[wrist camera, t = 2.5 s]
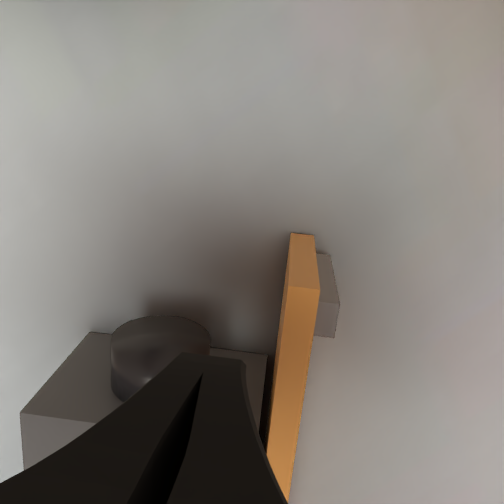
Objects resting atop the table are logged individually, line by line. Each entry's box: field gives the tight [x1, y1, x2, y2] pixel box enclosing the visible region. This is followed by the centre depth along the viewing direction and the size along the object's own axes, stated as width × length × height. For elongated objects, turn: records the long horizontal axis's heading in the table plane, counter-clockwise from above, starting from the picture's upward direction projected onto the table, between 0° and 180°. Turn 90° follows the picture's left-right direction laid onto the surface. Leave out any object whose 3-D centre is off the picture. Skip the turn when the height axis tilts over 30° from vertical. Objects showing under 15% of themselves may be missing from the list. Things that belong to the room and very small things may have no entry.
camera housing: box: [20, 316, 267, 470], centre depth 17 cm, size 12×7×6 cm, turn 175°
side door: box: [264, 233, 340, 503], centre depth 17 cm, size 15×1×5 cm, turn 175°
